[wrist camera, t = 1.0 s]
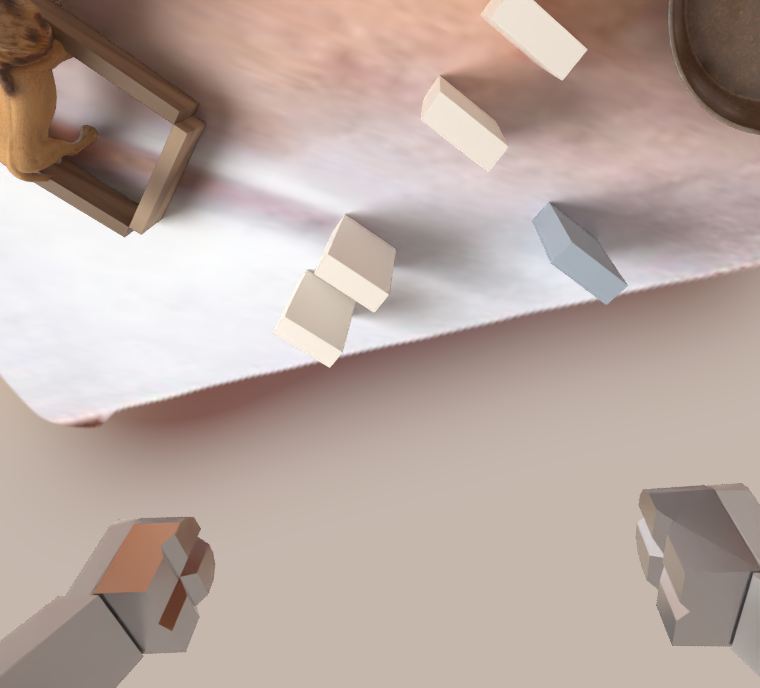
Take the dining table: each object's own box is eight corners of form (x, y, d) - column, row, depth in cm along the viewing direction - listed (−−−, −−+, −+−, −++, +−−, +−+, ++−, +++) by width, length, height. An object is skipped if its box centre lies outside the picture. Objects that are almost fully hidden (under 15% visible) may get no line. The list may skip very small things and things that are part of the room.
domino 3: (439, 75, 36) (440, 91, 29) (495, 121, 37) (508, 146, 30) (423, 98, 37) (420, 119, 30) (479, 142, 38) (488, 172, 31)
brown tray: (-56, -75, 34) (-102, -82, 31) (211, 112, 39) (192, 120, 36) (-81, 81, 39) (-122, 87, 36) (156, 228, 44) (136, 244, 41)
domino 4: (499, -13, 33) (515, -17, 26) (558, 40, 34) (587, 49, 28) (480, 15, 34) (490, 18, 27) (538, 66, 35) (562, 80, 28)
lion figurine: (1, -38, 34) (-125, -51, 27) (81, -29, 34) (-23, -39, 27) (55, 188, 42) (-30, 227, 35) (120, 196, 42) (48, 238, 34)
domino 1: (345, 213, 42) (327, 253, 35) (396, 249, 43) (389, 294, 36) (332, 231, 43) (313, 273, 36) (383, 265, 44) (374, 312, 37)
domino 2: (306, 269, 45) (284, 316, 38) (356, 301, 46) (342, 352, 39) (296, 284, 46) (272, 333, 39) (345, 315, 47) (329, 367, 40)
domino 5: (549, 202, 40) (571, 242, 33) (596, 239, 41) (627, 285, 34) (532, 220, 41) (551, 263, 34) (579, 256, 42) (606, 304, 35)
